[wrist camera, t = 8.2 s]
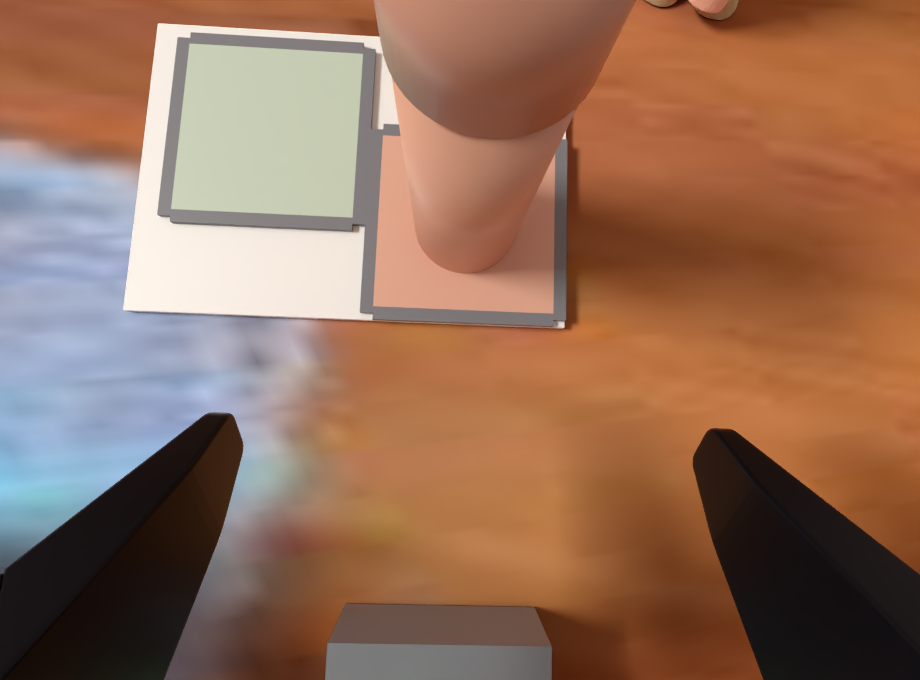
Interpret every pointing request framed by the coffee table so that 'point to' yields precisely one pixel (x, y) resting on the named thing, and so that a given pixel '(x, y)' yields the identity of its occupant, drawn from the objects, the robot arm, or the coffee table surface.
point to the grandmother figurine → (706, 7)
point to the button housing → (438, 643)
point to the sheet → (308, 193)
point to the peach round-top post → (487, 108)
